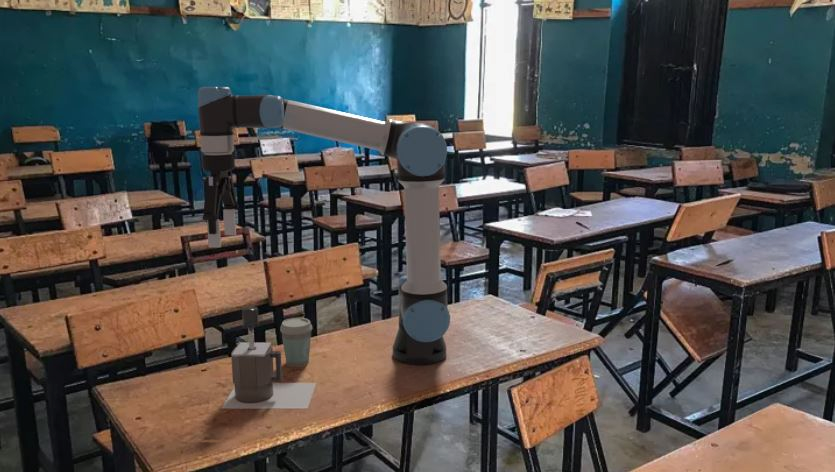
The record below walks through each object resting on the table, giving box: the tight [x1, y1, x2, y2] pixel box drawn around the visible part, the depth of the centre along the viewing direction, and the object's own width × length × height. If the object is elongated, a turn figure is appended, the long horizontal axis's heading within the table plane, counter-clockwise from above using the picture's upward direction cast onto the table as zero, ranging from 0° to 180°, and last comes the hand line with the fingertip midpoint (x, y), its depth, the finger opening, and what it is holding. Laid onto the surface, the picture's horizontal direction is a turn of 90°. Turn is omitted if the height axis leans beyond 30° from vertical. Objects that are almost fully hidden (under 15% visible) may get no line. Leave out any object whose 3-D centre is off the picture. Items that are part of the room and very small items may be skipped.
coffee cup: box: [279, 317, 313, 368], centre depth 183 cm, size 8×8×12 cm
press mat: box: [221, 382, 317, 410], centre depth 165 cm, size 20×14×1 cm
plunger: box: [241, 306, 259, 357], centre depth 162 cm, size 4×4×16 cm
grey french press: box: [230, 341, 283, 403], centre depth 164 cm, size 11×9×12 cm
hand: (223, 240), depth 166 cm, fingers open, 13 cm apart
